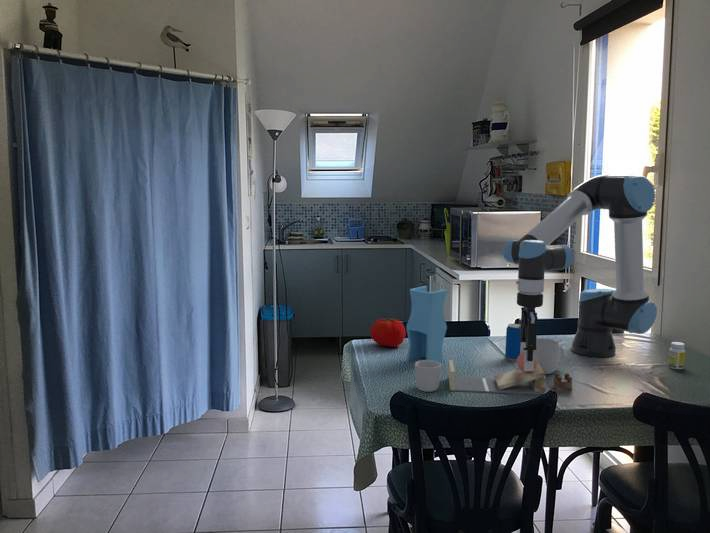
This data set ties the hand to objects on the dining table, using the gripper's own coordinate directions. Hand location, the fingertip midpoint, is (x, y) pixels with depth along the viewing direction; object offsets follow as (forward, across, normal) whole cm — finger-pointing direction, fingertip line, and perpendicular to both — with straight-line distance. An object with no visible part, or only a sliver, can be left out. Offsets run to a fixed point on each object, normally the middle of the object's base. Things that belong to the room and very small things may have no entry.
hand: (526, 366), depth 194 cm
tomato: (+7, -41, -44) cm, 61 cm away
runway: (+7, 0, -8) cm, 10 cm away
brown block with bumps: (+7, 0, +11) cm, 13 cm away
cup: (+7, +4, -30) cm, 31 cm away
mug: (+7, -18, +10) cm, 22 cm away
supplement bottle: (+7, -27, +54) cm, 61 cm away
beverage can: (+7, -30, +1) cm, 31 cm away
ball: (+2, 0, 0) cm, 2 cm away
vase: (+7, -24, -30) cm, 39 cm away
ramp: (+7, 0, -2) cm, 7 cm away
